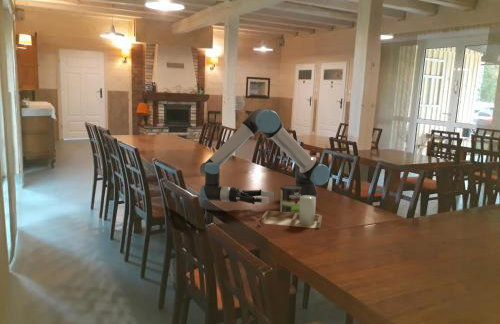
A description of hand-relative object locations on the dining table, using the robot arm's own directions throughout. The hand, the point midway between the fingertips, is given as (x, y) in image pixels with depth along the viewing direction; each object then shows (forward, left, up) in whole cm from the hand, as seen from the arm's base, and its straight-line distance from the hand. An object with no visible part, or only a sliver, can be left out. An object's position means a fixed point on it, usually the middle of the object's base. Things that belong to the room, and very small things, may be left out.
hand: (271, 197), depth 197 cm
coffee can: (-9, +4, -8) cm, 13 cm away
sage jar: (-10, +23, -7) cm, 26 cm away
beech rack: (-5, +19, -8) cm, 22 cm away
